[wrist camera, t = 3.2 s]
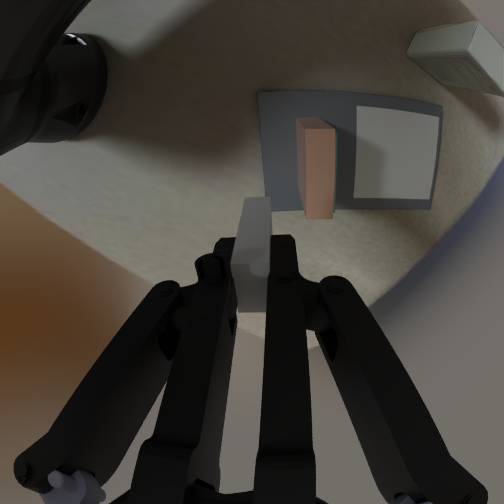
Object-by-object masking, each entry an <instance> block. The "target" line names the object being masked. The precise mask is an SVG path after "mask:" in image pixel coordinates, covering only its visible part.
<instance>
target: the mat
mask: <svg viewBox="0 0 504 504" xmlns="http://www.w3.org/2000/svg"><path fill="white" fill-rule="evenodd" d="M257 99H258V110H259V122H260V134H261V146H262V158H263V171H264V185H265V197H269V196H270V200H271V211H288V210H304V208H303V204H302V200H301V196H300V192H299V188H298V164H297V137H296V118H305V117H316V118H320V119H321V120H323V121H324V122H326V123H327V124H329V125H330V126H332V127H333V128H334V129H335V132H336V133H337V175H336V198H335V209H428V210H430V206H431V201H432V196H433V190H434V184H435V178H436V172H437V165H438V157H439V148H440V138H441V125H442V106H440V105H435V104H431V103H426V102H421V101H416V100H410V99H404V98H398V97H391V96H383V95H375V94H366V93H354V92H339V91H268V92H257Z"/></svg>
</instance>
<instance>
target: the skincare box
mask: <svg viewBox="0 0 504 504" xmlns="http://www.w3.org/2000/svg"><path fill="white" fill-rule="evenodd" d="M406 55H407V56H408V57H410V58H411V59H412V60H413V61H414V62H416V63H417V64H418V65H419V66H421V67H422V68H423V69H424V70H426V71H427V72H428V73H429V74H430V75H431V76H433V77H434V78H435V79H436V80H437V81H438V82H440V83H441V84H442V85H448V86H455V87H461V88H466V89H471V90H476V91H481V92H485V93H490V94H494V95H498V96H501V97H504V47H503V46H502V45H501V44H500V43H499V41H498V40H497V39H496V38H495V37H494V35H493V34H492V33H491V32H490V31H489V30H488V29H487V28H486V27H485V26H484V25H483V24H482V23H481V21H479V20H474V21H467V22H460V23H453V24H448V25H442V26H437V27H432V28H428V29H423V30H419V31H417V32H416V34H415V36H414V38H413V40H412V42H411V44H410V46H409V48H408V50H407V52H406Z"/></svg>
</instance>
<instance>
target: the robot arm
mask: <svg viewBox="0 0 504 504" xmlns="http://www.w3.org/2000/svg"><path fill="white" fill-rule="evenodd" d="M90 1H91V0H0V156H1V155H3V154H5V153H7V152H9V151H11V150H12V149H14V148H16V147H18V146H20V145H22V144H25V143H27V142H34V143H55V142H60V141H63V140H66V139H68V138H70V137H73V136H75V135H77V134H78V133H80V132H81V131H82V130H84V129H85V128H86V127H87V126H88V125H89V124H90V122H91V121H92V120H93V118H94V117H95V115H96V114H97V112H98V110H99V108H100V106H101V103H102V100H103V97H104V94H105V90H106V84H107V64H106V59H105V56H104V53H103V51H102V49H101V47H100V45H99V44H98V43H97V42H96V41H95V40H94V39H93V38H91V37H90V36H87V35H84V34H78V33H64V32H65V31H66V29H67V28H68V27H69V25H70V24H71V23H72V22H73V21H74V19H75V18H76V17H77V16H78V15H79V13H80V12H81V11H82V10H83V9H84V8H85V7H86V6H87V4H88V3H89V2H90ZM194 264H195V268H196V271H197V275H198V282H197V283H195V284H192V285H189V286H185V287H180V285H179V284H178V283H177V282H175V281H173V280H167V281H162V282H160V283H158V284H156V285H155V286H154V287H153V288H152V289H151V290H150V292H149V293H148V294H147V295H146V297H145V298H144V299H143V300H142V301H141V303H140V304H139V305H138V307H137V308H136V309H135V310H134V312H133V313H132V314H131V315H130V317H129V318H128V319H127V321H126V322H125V323H124V324H123V326H122V327H121V328H120V330H119V331H118V332H117V334H116V335H115V336H114V337H113V339H112V340H111V341H110V343H109V344H108V345H107V347H106V348H105V349H104V351H103V352H102V354H101V355H100V356H99V358H98V359H97V361H96V362H95V363H94V365H93V366H92V367H91V369H90V370H89V372H88V373H87V374H86V376H85V377H84V379H83V380H82V381H81V383H80V384H79V386H78V387H77V389H76V390H75V392H74V393H73V395H72V396H71V397H70V399H69V401H68V402H67V404H66V405H65V406H64V408H63V409H62V411H61V413H60V414H59V416H58V417H57V419H56V420H55V422H54V423H53V425H52V427H51V428H50V430H49V432H48V433H46V434H45V435H44V436H43V437H42V438H40V439H39V440H38V441H37V442H35V443H34V444H33V445H32V446H30V447H29V448H28V449H26V450H25V451H24V452H22V453H21V454H20V455H19V456H18V457H17V458H16V459H15V462H14V474H15V478H16V479H17V481H18V482H19V483H20V484H21V485H22V486H23V487H25V488H28V489H30V490H32V491H35V492H38V493H39V494H40V496H41V497H42V499H43V501H44V503H45V504H99V503H100V502H102V501H104V500H105V499H106V493H105V491H104V490H103V489H101V487H102V486H103V485H104V484H105V483H106V482H107V481H108V480H109V479H110V477H111V476H112V475H113V474H114V472H115V471H116V470H117V468H118V466H119V465H120V463H121V461H122V460H123V458H124V456H125V454H126V452H127V450H128V449H129V447H130V445H131V443H132V442H133V440H134V438H135V436H136V434H137V433H138V431H139V429H140V427H141V426H142V424H143V421H144V420H145V418H146V417H147V415H148V413H149V411H150V409H151V408H152V406H153V404H154V402H155V401H156V399H157V397H158V395H159V394H160V392H161V390H162V388H163V387H164V385H165V383H166V381H167V384H166V387H165V391H164V395H163V398H162V402H161V406H160V410H159V413H158V417H157V421H156V426H155V429H154V433H153V435H152V436H151V438H149V439H147V440H145V441H144V442H143V444H142V445H141V447H140V450H139V454H138V458H137V462H136V466H135V470H134V474H133V479H132V483H131V488H130V489H129V490H128V491H127V492H125V493H124V494H122V495H121V496H120V497H118V498H117V499H115V500H114V501H112V502H111V503H109V504H328V503H326V502H325V501H323V500H321V499H320V498H318V497H316V463H315V454H314V451H313V441H312V414H311V394H310V376H309V362H308V348H307V336H306V329H307V330H312V331H315V335H316V338H317V340H318V342H319V345H320V347H321V349H322V351H323V354H324V356H325V359H326V361H327V363H328V366H329V368H330V370H331V373H332V375H333V377H334V380H335V382H336V385H337V387H338V389H339V392H340V394H341V397H342V399H343V401H344V404H345V406H346V409H347V411H348V414H349V416H350V419H351V421H352V424H353V426H354V428H355V431H356V434H357V436H358V439H359V441H360V444H361V447H362V449H363V452H364V454H365V457H366V459H367V462H368V465H369V467H370V470H371V473H372V475H373V478H374V480H375V482H376V485H377V487H378V489H379V491H380V493H381V494H382V495H383V497H384V499H385V500H386V501H387V502H388V504H487V501H488V492H487V490H486V488H485V487H484V486H483V485H482V484H481V483H480V482H479V481H478V480H477V479H476V478H474V477H473V476H472V475H471V474H470V473H469V472H468V471H467V470H465V469H464V468H463V467H462V466H461V465H460V464H459V463H458V462H457V461H455V459H453V458H452V457H451V456H450V454H449V452H448V450H447V447H446V445H445V443H444V441H443V439H442V437H441V435H440V433H439V431H438V429H437V427H436V425H435V423H434V421H433V419H432V417H431V415H430V413H429V411H428V409H427V407H426V405H425V404H424V402H423V400H422V398H421V396H420V394H419V393H418V391H417V389H416V387H415V385H414V384H413V382H412V380H411V378H410V377H409V375H408V373H407V371H406V370H405V368H404V366H403V364H402V363H401V361H400V359H399V358H398V356H397V355H396V353H395V351H394V349H393V348H392V346H391V344H390V343H389V341H388V339H387V338H386V336H385V335H384V333H383V331H382V330H381V328H380V326H379V325H378V323H377V322H376V320H375V319H374V317H373V316H372V314H371V312H370V311H369V309H368V308H367V306H366V305H365V303H364V302H363V300H362V299H361V297H360V296H359V294H358V293H357V291H356V290H355V288H354V287H353V285H352V284H351V282H349V281H348V280H347V279H346V278H344V277H341V276H336V275H335V276H328V277H325V278H323V279H322V280H321V281H320V283H317V282H313V281H309V280H307V279H305V278H304V277H302V276H301V274H300V273H299V269H298V261H297V252H296V244H295V239H294V238H293V237H292V236H291V235H290V234H288V235H272V217H271V200H270V196H269V197H249V198H245V200H244V204H243V209H242V213H241V218H240V222H239V226H238V231H237V235H236V237H229V238H221V239H220V240H219V241H218V242H217V243H216V244H215V247H214V251H213V253H209V254H205V255H203V256H201V257H199V258H198V259H197V260H196V261H195V263H194ZM237 307H238V313H239V312H266V327H265V348H264V349H265V350H264V368H263V386H262V403H261V420H260V435H259V448H258V453H257V457H256V465H255V477H254V489H253V491H247V492H241V493H233V494H222V493H219V485H220V467H219V458H220V450H221V442H222V435H223V426H224V419H225V412H226V404H227V396H228V389H229V381H230V373H231V366H232V358H233V350H234V343H235V336H236V329H237V315H236V311H237Z"/></svg>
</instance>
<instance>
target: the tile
mask: <svg viewBox="0 0 504 504" xmlns="http://www.w3.org/2000/svg"><path fill="white" fill-rule="evenodd" d="M296 137H297V164H298V188H299V192H300V196H301V200H302V204H303V208H304V212H305V217H306V219H333V213H334V212H335V198H336V175H337V133H336V132H335V129H334V128H333V127H332V126H330V125H329V124H327V123H326V122H324V121H323V120H321V119H320V118H316V117H305V118H296Z"/></svg>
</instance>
